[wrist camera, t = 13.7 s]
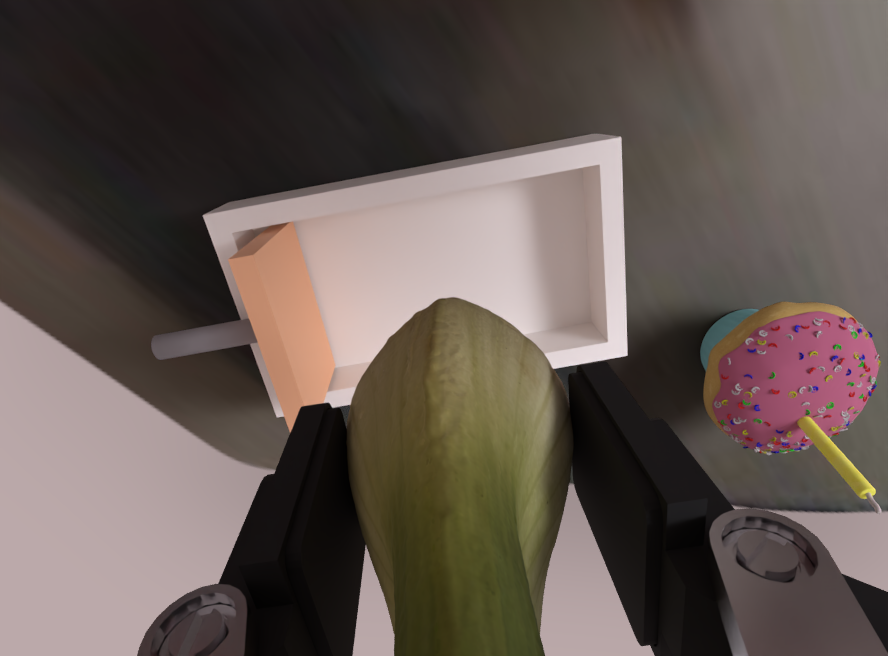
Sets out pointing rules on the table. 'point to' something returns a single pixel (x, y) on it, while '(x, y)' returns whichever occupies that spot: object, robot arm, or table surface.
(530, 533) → the fennel bulb
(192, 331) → the pusher
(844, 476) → the cupcake
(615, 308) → the white tray
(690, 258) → the table surface
